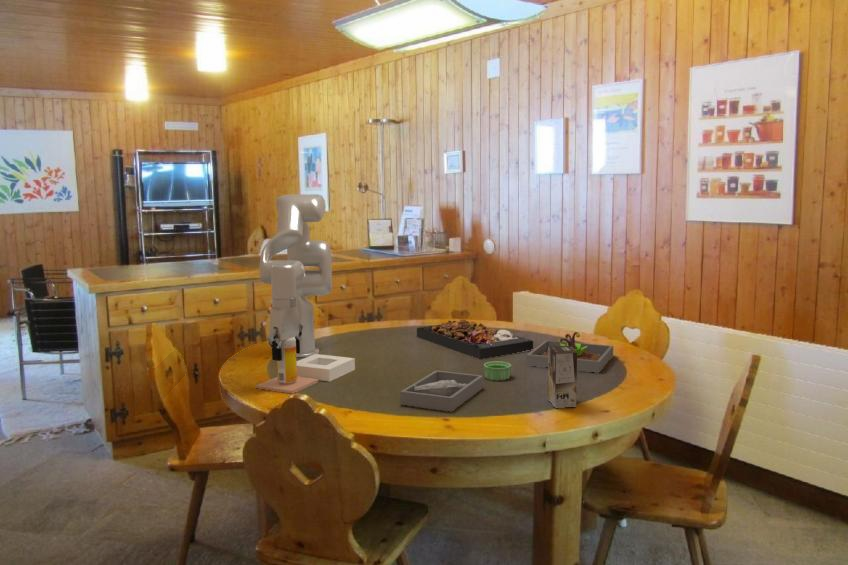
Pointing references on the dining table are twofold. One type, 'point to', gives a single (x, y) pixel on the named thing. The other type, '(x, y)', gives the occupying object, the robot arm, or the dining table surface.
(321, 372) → the frame
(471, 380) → the grey tray
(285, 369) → the beer can
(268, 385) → the coaster tile
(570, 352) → the coffee box
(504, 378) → the ramekin
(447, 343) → the food platter
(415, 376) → the dining table surface
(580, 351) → the plant
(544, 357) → the planter frame
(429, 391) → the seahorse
